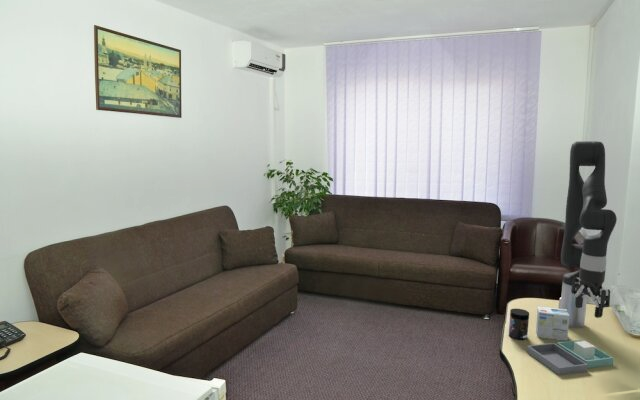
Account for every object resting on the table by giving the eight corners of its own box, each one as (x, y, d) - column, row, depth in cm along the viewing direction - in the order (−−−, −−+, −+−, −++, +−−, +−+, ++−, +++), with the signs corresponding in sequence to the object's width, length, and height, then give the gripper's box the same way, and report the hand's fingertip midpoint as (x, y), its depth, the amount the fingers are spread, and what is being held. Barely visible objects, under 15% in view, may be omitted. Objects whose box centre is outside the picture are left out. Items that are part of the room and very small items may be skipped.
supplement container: (514, 332, 185) (516, 307, 183) (531, 338, 179) (533, 312, 177) (504, 336, 181) (506, 310, 179) (520, 343, 175) (522, 316, 174)
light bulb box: (564, 335, 182) (567, 309, 181) (567, 342, 176) (570, 315, 174) (534, 331, 186) (536, 305, 184) (536, 338, 179) (538, 311, 178)
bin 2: (555, 350, 170) (556, 342, 169) (581, 347, 172) (582, 339, 172) (585, 369, 156) (586, 361, 156) (613, 366, 159) (613, 357, 158)
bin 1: (526, 353, 167) (527, 345, 167) (553, 350, 170) (553, 342, 169) (558, 376, 152) (559, 368, 151) (587, 373, 154) (588, 364, 154)
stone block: (573, 353, 166) (574, 342, 165) (583, 352, 167) (585, 340, 166) (582, 360, 162) (584, 347, 161) (593, 358, 163) (595, 346, 162)
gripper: (567, 261, 165) (563, 305, 168) (600, 274, 151) (595, 321, 154) (586, 260, 167) (581, 303, 169) (619, 272, 153) (614, 319, 156)
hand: (588, 312), depth 162 cm, fingers open, 8 cm apart
